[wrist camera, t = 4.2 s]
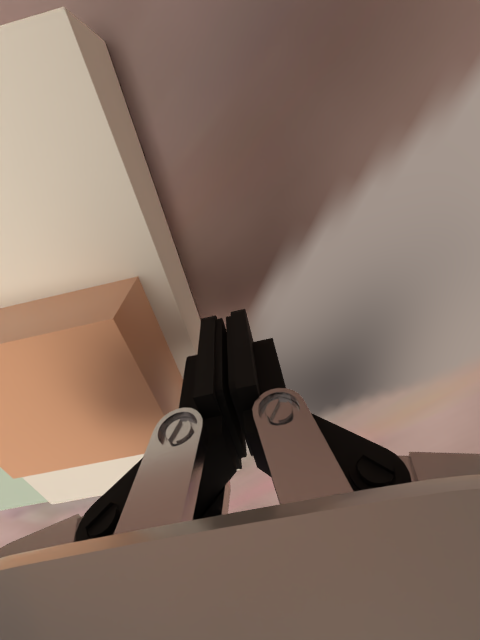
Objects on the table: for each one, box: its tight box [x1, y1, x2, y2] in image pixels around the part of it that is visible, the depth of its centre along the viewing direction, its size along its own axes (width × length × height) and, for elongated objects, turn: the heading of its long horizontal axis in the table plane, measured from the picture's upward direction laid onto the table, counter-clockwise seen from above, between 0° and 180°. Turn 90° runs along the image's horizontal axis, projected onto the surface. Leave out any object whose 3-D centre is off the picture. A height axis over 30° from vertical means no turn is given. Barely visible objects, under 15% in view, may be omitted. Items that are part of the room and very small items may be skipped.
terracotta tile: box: [0, 276, 183, 479], centre depth 11 cm, size 7×6×3 cm
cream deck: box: [0, 7, 240, 504], centre depth 14 cm, size 12×20×3 cm, turn 12°
